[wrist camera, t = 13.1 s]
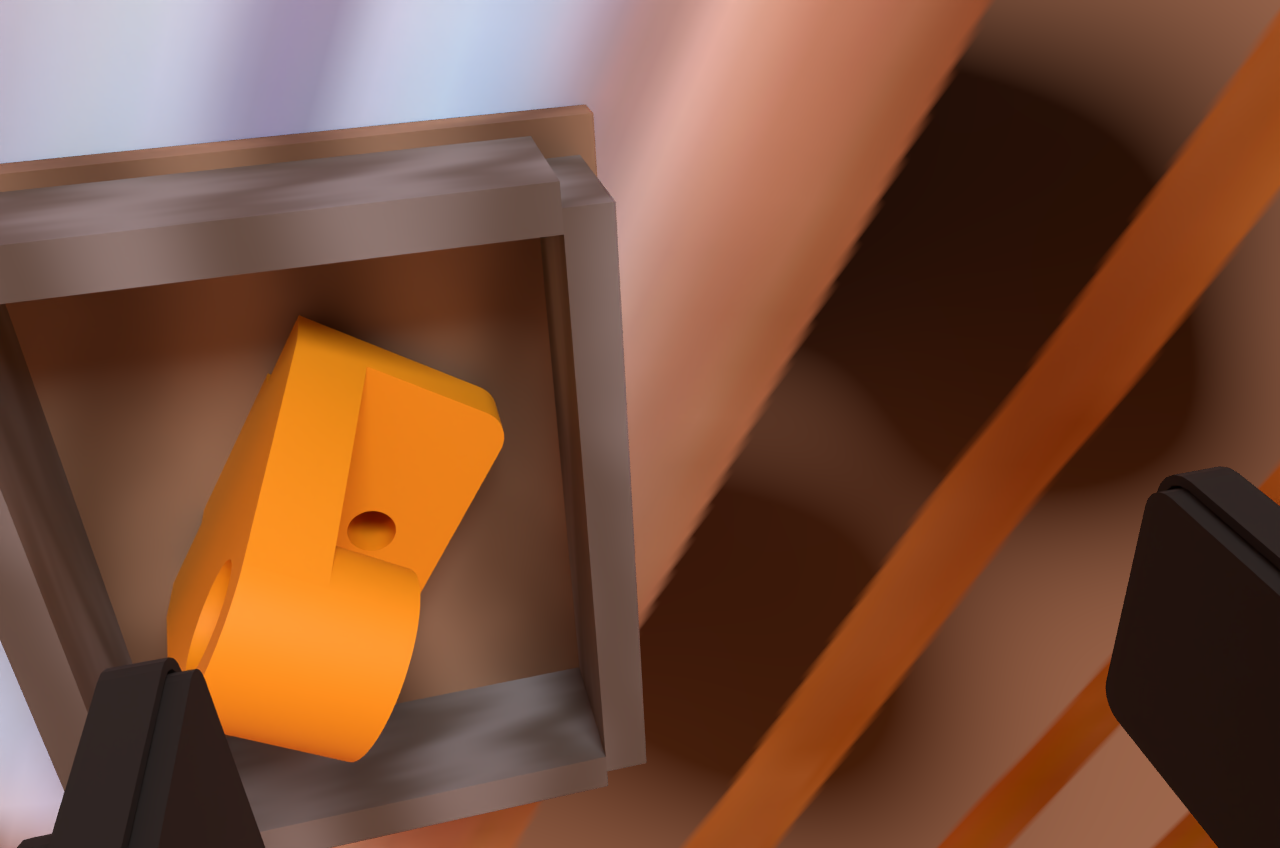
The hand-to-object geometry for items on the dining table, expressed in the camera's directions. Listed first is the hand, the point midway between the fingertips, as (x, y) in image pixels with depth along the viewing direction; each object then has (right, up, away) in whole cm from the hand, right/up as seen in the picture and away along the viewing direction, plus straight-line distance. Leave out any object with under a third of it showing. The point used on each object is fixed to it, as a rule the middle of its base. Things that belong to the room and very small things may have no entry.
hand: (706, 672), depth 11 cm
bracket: (-11, +1, +27) cm, 29 cm away
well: (-12, +1, +28) cm, 31 cm away
